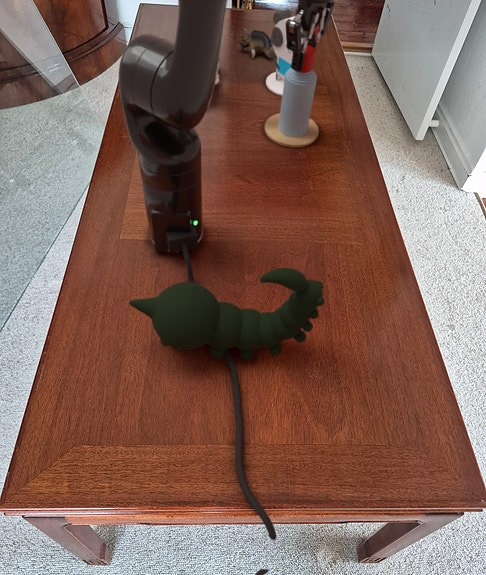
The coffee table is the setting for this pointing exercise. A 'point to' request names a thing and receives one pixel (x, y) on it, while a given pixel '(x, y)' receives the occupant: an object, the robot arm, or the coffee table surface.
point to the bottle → (296, 102)
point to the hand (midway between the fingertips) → (302, 64)
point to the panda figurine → (280, 52)
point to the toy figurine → (232, 316)
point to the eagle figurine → (257, 42)
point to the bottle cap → (308, 59)
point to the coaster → (284, 140)
